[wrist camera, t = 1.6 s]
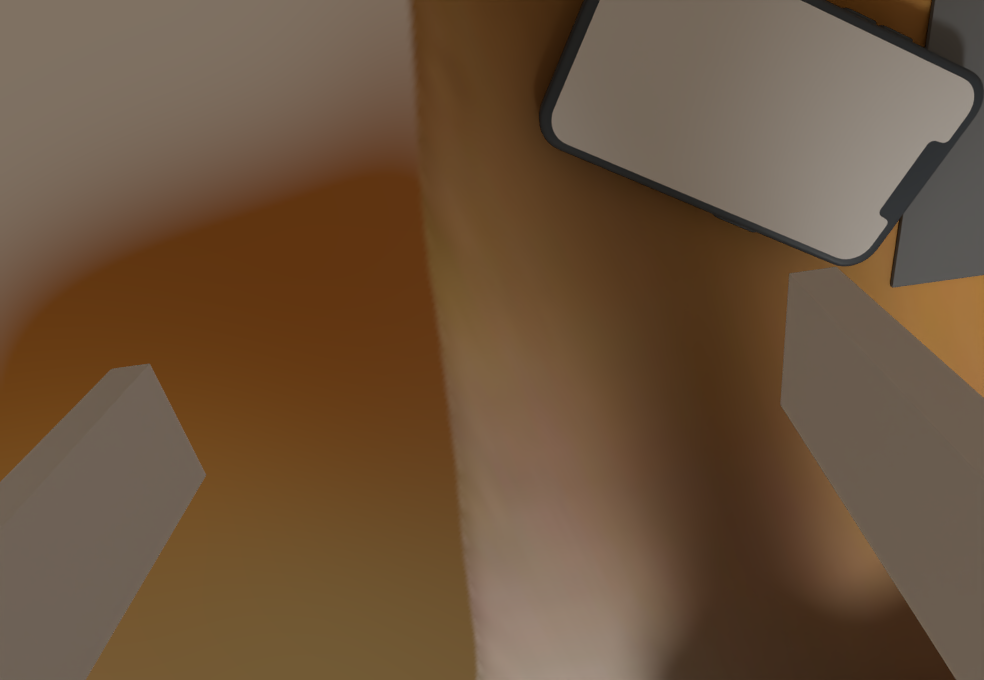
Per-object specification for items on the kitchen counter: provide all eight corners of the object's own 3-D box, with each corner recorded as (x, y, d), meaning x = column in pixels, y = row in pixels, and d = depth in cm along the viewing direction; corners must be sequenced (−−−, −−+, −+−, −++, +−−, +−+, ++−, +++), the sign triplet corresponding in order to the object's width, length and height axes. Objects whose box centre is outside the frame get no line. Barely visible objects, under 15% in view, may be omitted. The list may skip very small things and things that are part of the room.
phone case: (527, 133, 28) (843, 264, 30) (528, 141, 27) (858, 279, 29) (622, -97, 24) (979, 76, 26) (627, -102, 22) (1005, 81, 25)
